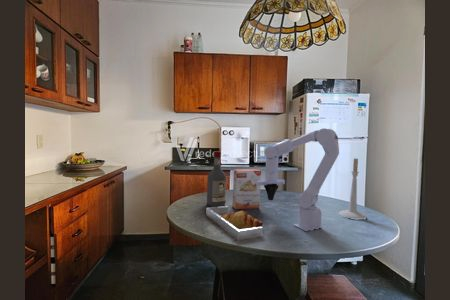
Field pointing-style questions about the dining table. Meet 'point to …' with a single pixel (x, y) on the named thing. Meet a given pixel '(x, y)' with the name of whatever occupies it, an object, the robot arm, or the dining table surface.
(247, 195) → the cracker box
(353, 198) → the candlestick
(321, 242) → the dining table surface
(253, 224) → the croissant
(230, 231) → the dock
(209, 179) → the liquor
